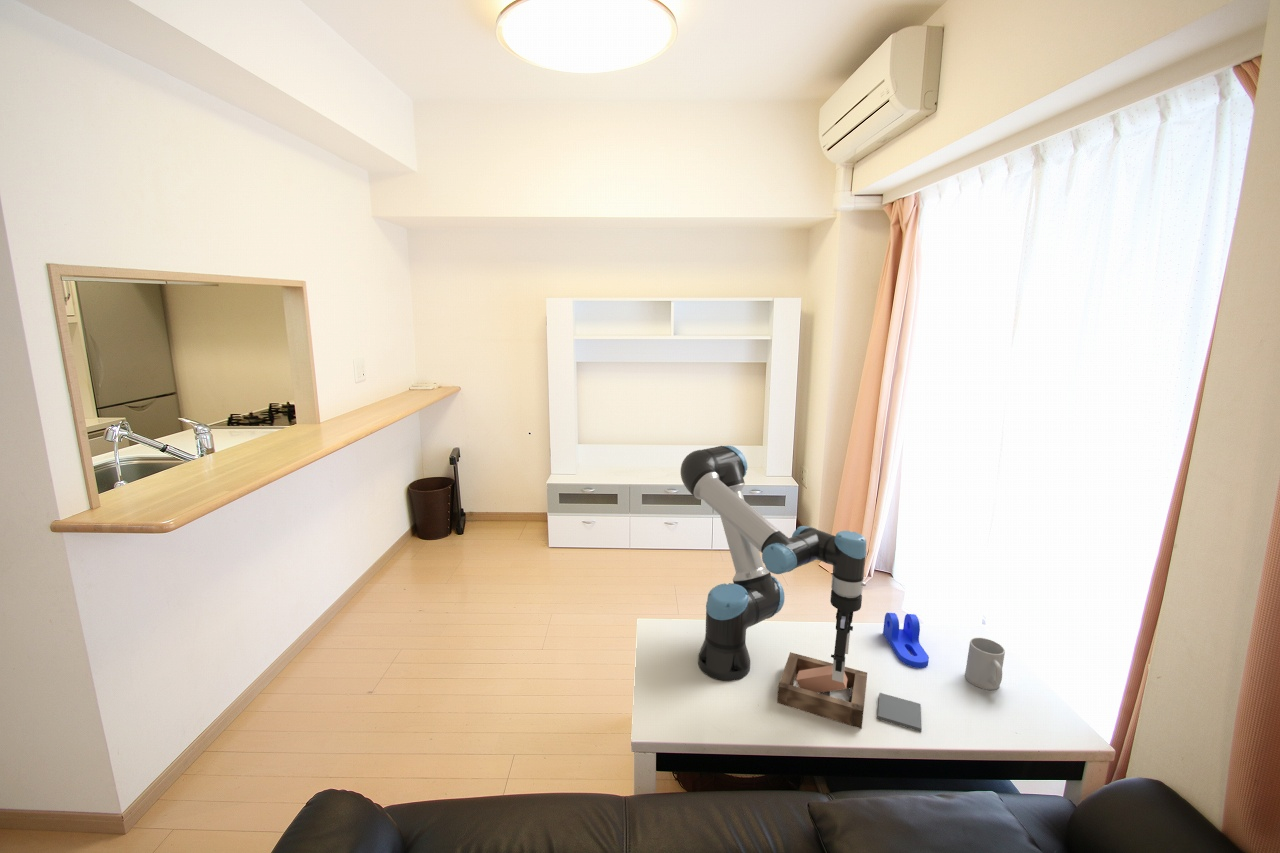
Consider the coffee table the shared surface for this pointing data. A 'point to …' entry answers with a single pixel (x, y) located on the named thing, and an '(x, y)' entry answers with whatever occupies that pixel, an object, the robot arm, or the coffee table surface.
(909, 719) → the rubber pad
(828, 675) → the terracotta block
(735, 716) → the coffee table surface
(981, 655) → the mug
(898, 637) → the bracket
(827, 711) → the brown wooden frame
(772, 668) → the coffee table surface
